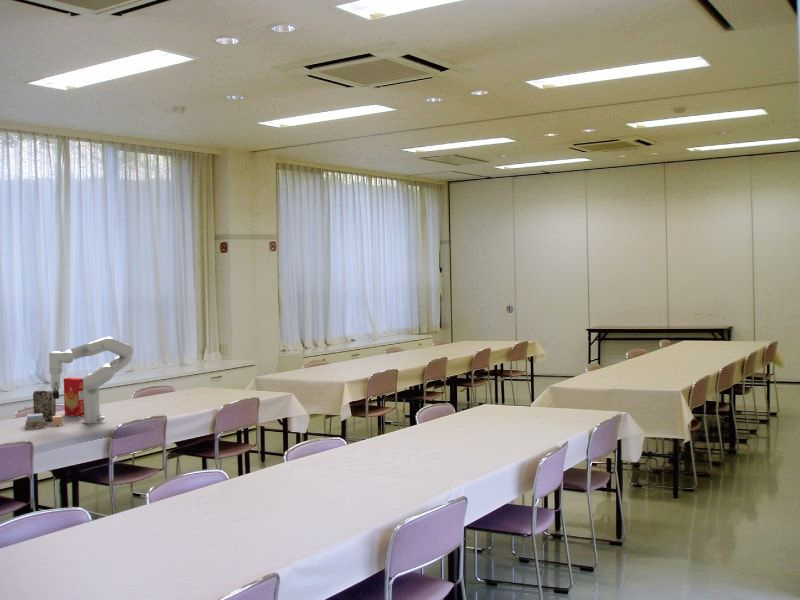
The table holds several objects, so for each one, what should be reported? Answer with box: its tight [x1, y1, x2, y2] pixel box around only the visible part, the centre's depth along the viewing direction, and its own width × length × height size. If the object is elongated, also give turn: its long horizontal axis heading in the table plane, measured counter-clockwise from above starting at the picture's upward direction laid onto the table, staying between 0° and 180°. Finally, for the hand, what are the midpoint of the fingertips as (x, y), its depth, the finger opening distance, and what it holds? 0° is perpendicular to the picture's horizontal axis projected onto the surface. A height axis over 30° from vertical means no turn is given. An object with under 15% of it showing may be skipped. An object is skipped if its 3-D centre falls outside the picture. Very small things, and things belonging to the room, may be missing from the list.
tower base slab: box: [25, 419, 46, 430], centre depth 514 cm, size 11×11×4 cm
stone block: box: [32, 389, 57, 421], centre depth 535 cm, size 13×7×20 cm, turn 92°
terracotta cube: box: [51, 414, 63, 426], centre depth 519 cm, size 6×6×6 cm
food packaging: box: [63, 377, 84, 417], centre depth 553 cm, size 15×5×25 cm, turn 60°
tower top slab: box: [26, 413, 43, 423], centre depth 514 cm, size 9×9×4 cm
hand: (55, 397), depth 519 cm, fingers open, 9 cm apart
